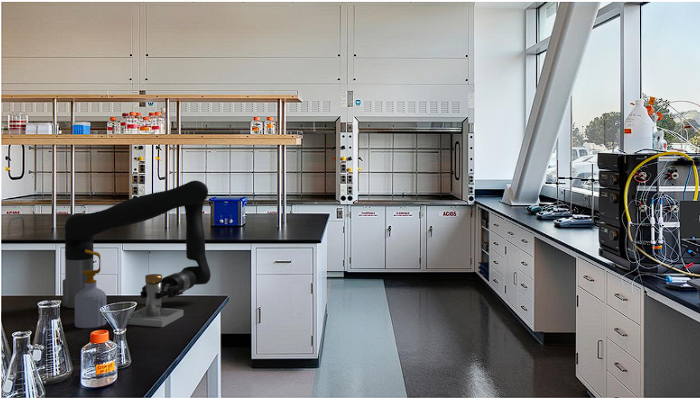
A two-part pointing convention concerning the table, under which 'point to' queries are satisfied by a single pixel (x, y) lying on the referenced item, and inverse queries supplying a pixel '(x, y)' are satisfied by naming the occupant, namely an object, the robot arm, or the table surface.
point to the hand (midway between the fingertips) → (149, 295)
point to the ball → (138, 315)
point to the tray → (156, 317)
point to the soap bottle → (90, 301)
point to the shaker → (153, 294)
